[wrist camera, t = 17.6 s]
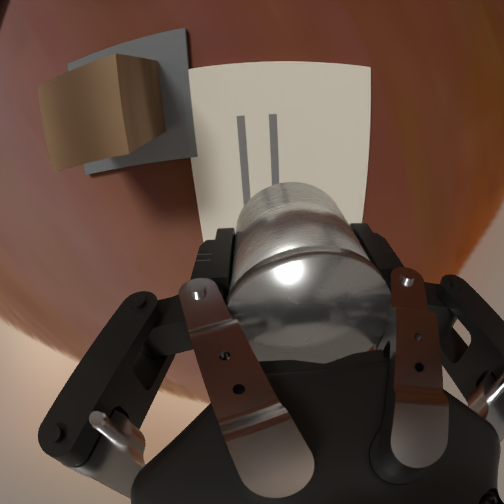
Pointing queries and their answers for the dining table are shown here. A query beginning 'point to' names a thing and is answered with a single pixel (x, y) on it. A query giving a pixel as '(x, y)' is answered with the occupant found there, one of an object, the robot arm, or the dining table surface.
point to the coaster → (172, 86)
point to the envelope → (278, 134)
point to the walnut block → (101, 110)
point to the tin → (303, 278)
